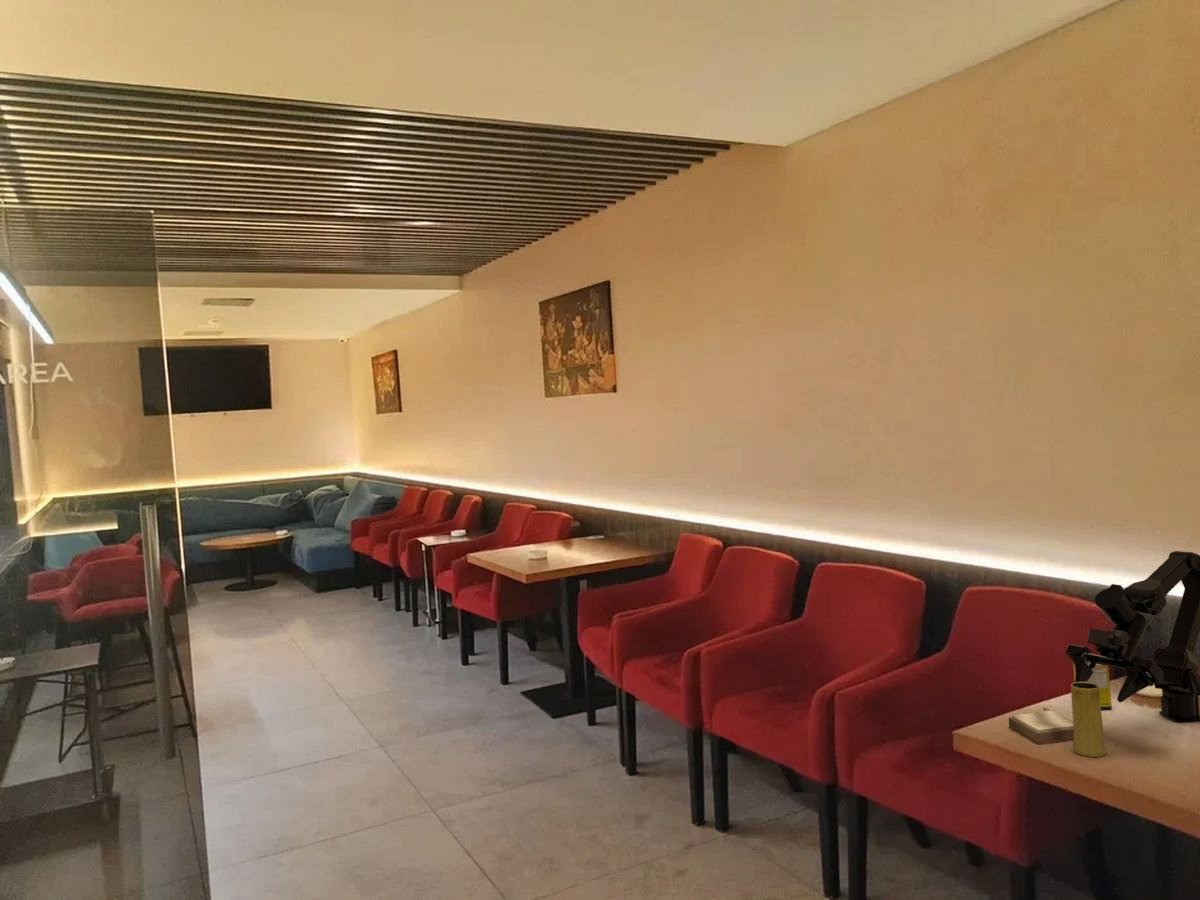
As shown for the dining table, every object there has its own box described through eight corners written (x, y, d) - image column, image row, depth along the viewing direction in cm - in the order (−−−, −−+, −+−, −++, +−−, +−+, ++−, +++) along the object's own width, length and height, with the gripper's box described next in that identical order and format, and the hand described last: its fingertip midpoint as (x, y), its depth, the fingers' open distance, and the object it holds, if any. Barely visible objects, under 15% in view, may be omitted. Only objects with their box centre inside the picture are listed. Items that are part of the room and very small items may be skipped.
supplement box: (1100, 702, 209) (1097, 658, 209) (1112, 710, 203) (1109, 664, 203) (1074, 703, 210) (1071, 659, 209) (1086, 711, 204) (1083, 665, 203)
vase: (1094, 759, 175) (1089, 691, 175) (1066, 751, 181) (1062, 684, 181) (1112, 752, 178) (1107, 685, 178) (1084, 744, 184) (1079, 679, 184)
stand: (1053, 722, 198) (1052, 710, 198) (1085, 738, 187) (1084, 725, 187) (1009, 727, 197) (1008, 715, 196) (1038, 744, 186) (1037, 730, 186)
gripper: (1067, 608, 192) (1038, 665, 187) (1152, 621, 175) (1123, 684, 170) (1091, 637, 195) (1063, 694, 191) (1176, 652, 179) (1149, 715, 174)
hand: (1097, 696), depth 181 cm, fingers open, 9 cm apart
